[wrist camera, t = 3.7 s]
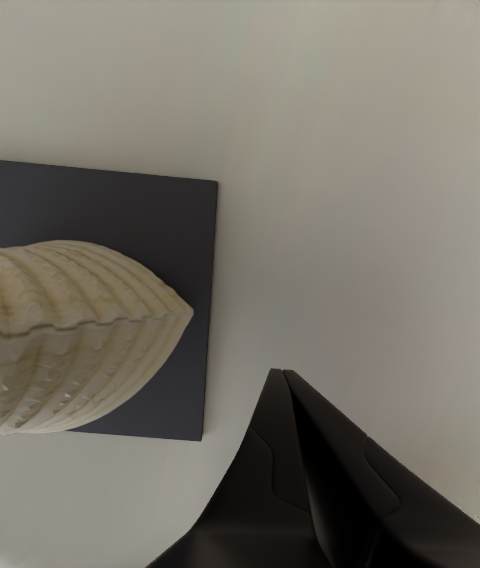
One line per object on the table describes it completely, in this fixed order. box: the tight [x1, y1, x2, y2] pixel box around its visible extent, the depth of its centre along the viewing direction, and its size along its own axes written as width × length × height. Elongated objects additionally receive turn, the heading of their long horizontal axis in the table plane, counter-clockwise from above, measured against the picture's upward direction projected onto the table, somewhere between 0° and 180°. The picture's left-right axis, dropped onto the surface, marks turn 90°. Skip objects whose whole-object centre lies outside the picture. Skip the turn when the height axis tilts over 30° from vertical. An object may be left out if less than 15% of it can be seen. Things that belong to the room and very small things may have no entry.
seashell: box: [0, 240, 194, 435], centre depth 9 cm, size 8×8×8 cm
